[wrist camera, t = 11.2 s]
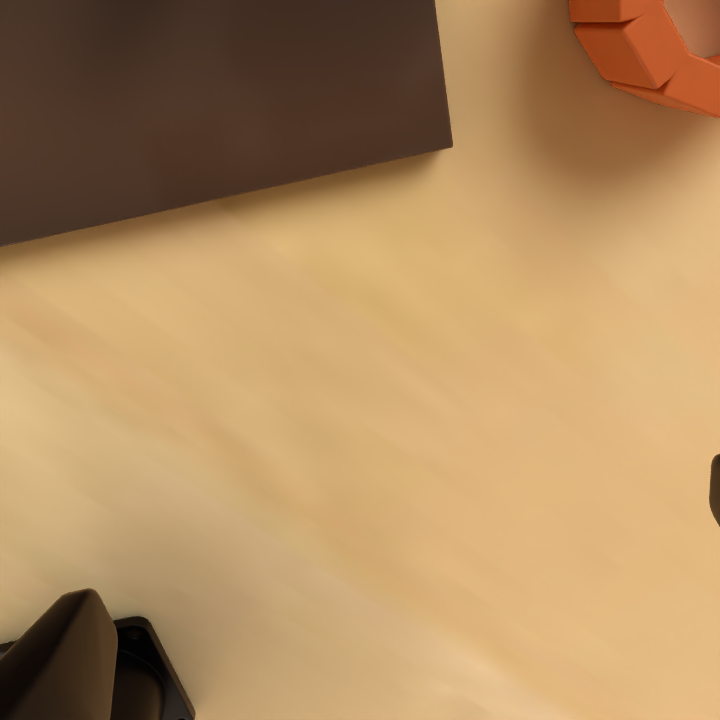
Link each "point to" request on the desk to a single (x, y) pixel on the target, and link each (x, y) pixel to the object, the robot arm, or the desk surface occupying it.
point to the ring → (646, 54)
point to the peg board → (203, 101)
